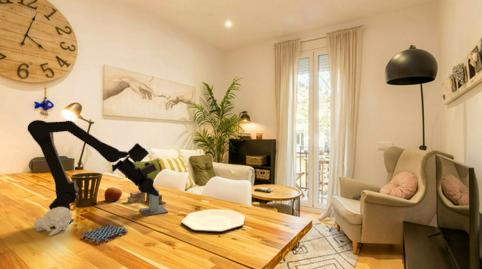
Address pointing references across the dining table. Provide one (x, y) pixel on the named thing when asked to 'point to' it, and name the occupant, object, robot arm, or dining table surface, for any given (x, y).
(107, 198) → the fruit
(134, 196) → the offcut stack
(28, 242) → the dining table surface
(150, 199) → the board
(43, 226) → the animal skull
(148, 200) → the brown wooden block
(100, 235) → the woven mat
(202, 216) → the plate
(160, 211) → the felt pad
